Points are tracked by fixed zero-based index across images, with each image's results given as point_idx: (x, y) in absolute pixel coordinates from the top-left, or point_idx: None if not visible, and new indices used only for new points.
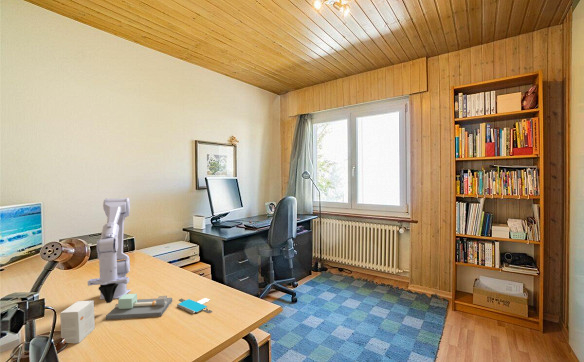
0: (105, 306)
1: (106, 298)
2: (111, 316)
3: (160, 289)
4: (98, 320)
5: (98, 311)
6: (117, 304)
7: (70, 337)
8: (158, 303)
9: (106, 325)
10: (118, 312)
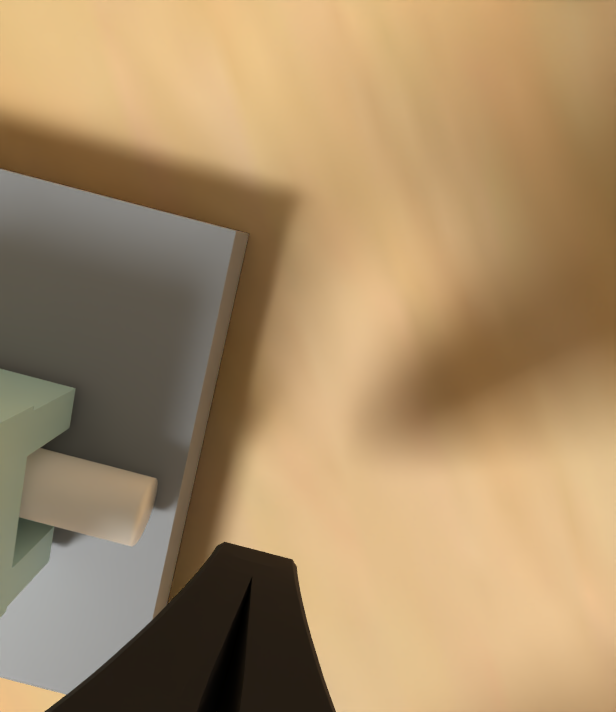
0: (382, 675)
1: (257, 622)
2: (147, 208)
3: None
4: (359, 249)
5: (440, 558)
6: (101, 505)
7: None
8: None
9: (177, 5)
10: (47, 274)
